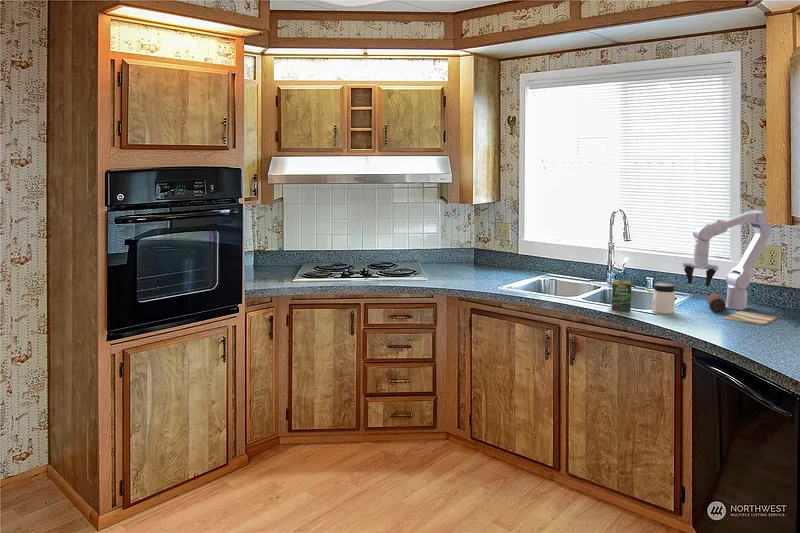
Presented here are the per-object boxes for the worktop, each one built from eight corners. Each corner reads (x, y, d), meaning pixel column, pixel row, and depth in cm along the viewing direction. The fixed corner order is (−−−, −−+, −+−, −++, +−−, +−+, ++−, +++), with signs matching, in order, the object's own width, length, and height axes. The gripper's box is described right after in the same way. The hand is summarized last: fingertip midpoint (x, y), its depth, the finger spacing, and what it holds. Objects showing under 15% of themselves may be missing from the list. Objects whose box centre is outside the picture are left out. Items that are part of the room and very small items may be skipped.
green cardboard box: (610, 310, 289) (612, 280, 287) (611, 308, 292) (613, 279, 289) (630, 312, 286) (632, 281, 284) (630, 310, 288) (632, 280, 286)
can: (711, 314, 286) (708, 308, 299) (727, 310, 284) (723, 304, 297) (707, 301, 286) (704, 295, 299) (723, 297, 284) (719, 291, 297)
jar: (649, 309, 291) (651, 282, 289) (668, 309, 291) (670, 282, 289) (656, 314, 282) (658, 286, 280) (676, 314, 282) (678, 286, 280)
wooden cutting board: (739, 312, 287) (739, 311, 287) (777, 318, 277) (777, 317, 277) (723, 318, 275) (723, 317, 275) (762, 325, 264) (762, 324, 264)
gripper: (680, 253, 293) (678, 283, 296) (714, 256, 283) (712, 288, 285) (687, 251, 298) (685, 281, 301) (721, 255, 288) (718, 286, 290)
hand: (698, 284), depth 293 cm, fingers open, 7 cm apart
